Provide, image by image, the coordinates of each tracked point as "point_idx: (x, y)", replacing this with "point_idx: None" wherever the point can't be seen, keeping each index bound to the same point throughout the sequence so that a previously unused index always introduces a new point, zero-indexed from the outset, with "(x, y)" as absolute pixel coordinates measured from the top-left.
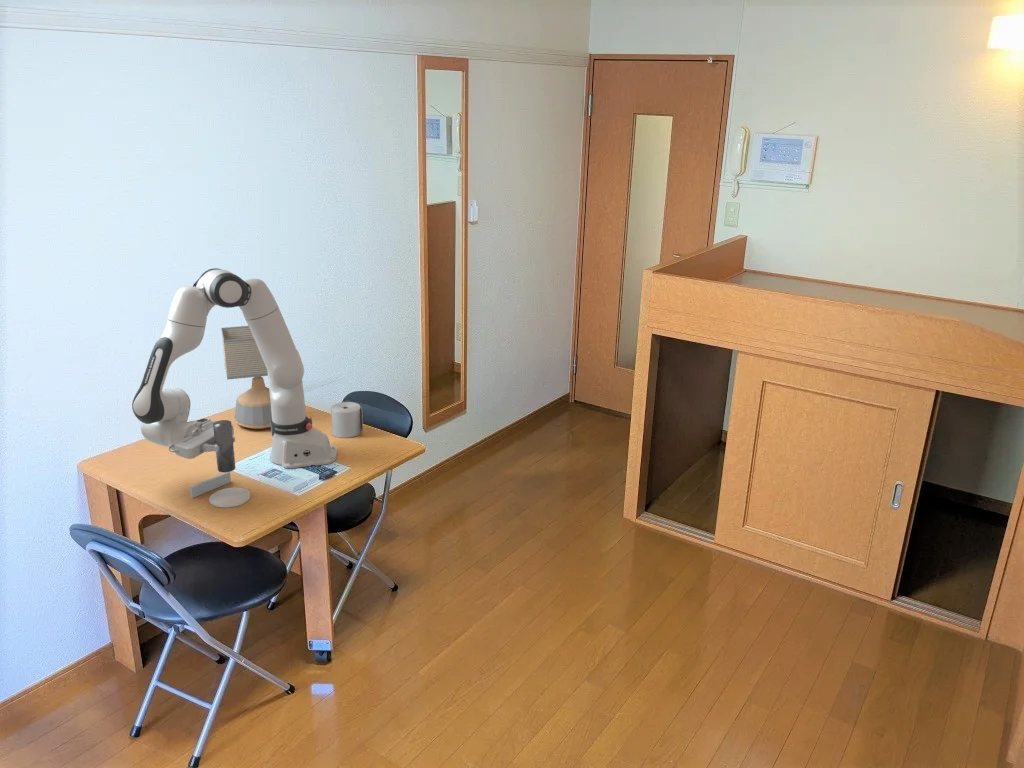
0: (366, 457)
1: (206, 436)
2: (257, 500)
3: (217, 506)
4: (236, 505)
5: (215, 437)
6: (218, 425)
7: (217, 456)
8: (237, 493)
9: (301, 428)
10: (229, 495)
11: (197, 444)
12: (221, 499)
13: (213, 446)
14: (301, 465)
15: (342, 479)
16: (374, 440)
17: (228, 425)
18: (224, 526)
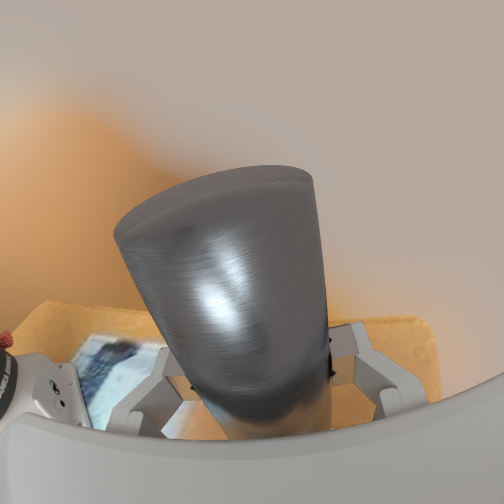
0: (60, 332)
1: (286, 492)
2: None
3: None
4: (331, 428)
5: (324, 317)
6: (275, 181)
7: (330, 414)
8: None
9: (6, 352)
10: None
11: (485, 388)
12: None
13: (370, 349)
14: (82, 405)
15: (133, 324)
16: (14, 346)
17: (232, 170)
18: (422, 371)
